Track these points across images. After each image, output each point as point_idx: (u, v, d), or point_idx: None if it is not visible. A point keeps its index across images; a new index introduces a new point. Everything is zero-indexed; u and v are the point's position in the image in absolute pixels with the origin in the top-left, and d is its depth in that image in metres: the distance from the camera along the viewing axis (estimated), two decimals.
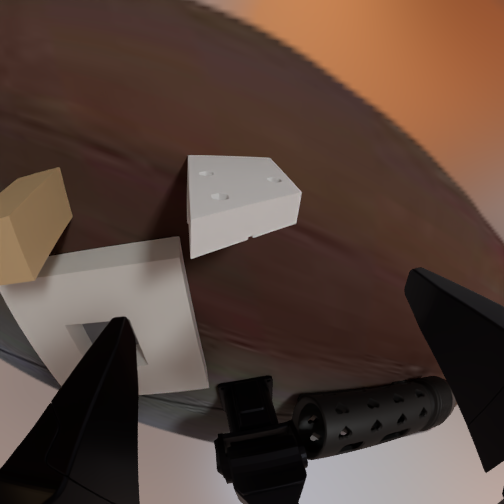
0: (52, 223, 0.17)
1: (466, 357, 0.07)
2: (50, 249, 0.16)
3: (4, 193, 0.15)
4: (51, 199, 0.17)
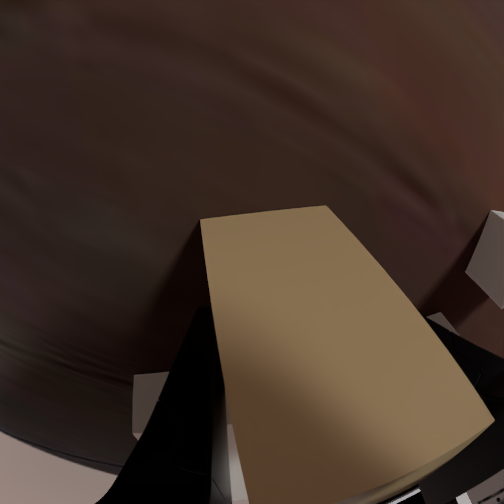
0: None
1: None
2: None
3: (241, 283, 0.07)
4: None
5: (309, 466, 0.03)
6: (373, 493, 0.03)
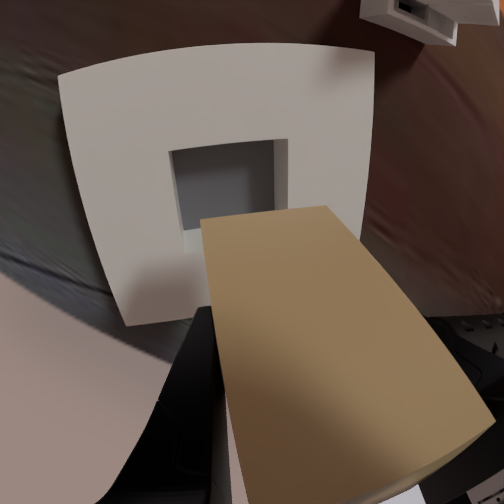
0: None
1: None
2: None
3: (241, 284, 0.07)
4: None
5: (310, 467, 0.03)
6: (374, 494, 0.03)
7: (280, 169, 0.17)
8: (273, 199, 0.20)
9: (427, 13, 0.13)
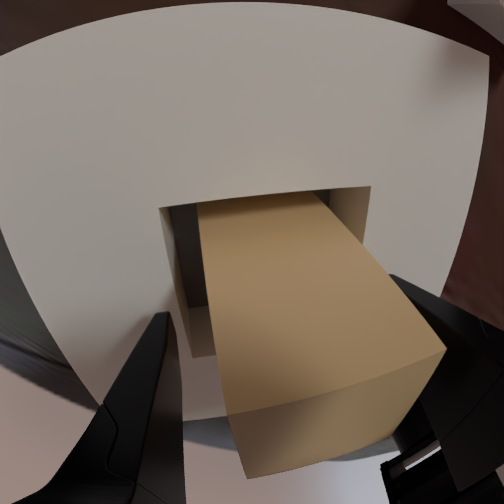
0: None
1: (436, 371, 0.07)
2: None
3: (227, 243, 0.08)
4: None
5: (274, 370, 0.05)
6: (335, 407, 0.05)
7: None
8: None
9: None
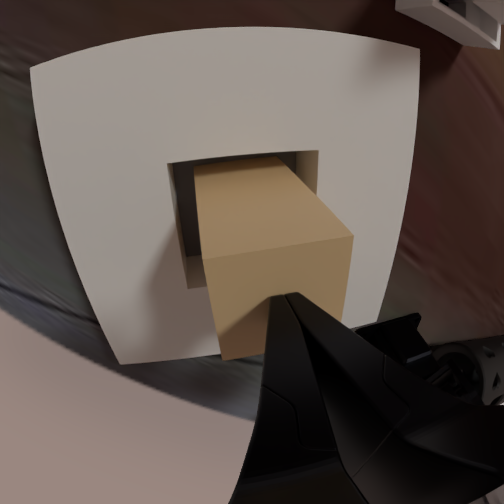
0: None
1: (332, 410, 0.06)
2: None
3: (213, 187, 0.12)
4: None
5: (234, 240, 0.08)
6: (275, 269, 0.08)
7: None
8: None
9: (467, 10, 0.10)
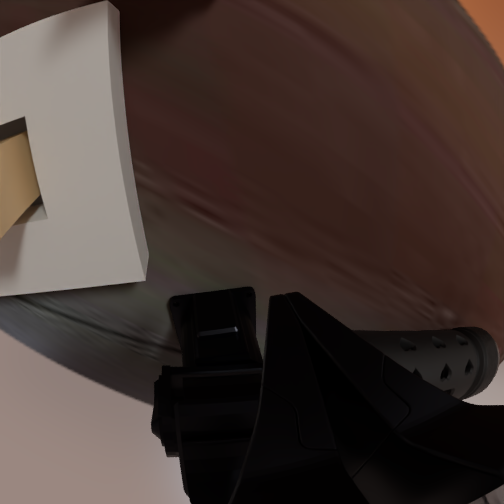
0: (18, 189, 0.13)
1: (331, 410, 0.06)
2: (13, 219, 0.12)
3: None
4: (20, 162, 0.13)
5: None
6: None
7: None
8: None
9: None
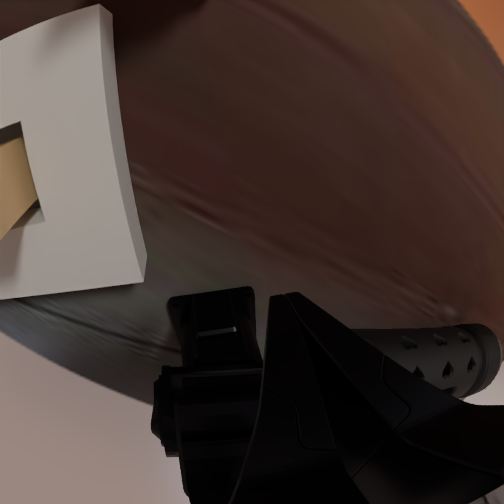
0: (16, 193, 0.13)
1: (332, 410, 0.06)
2: (11, 223, 0.12)
3: None
4: (17, 166, 0.13)
5: None
6: None
7: None
8: None
9: None
